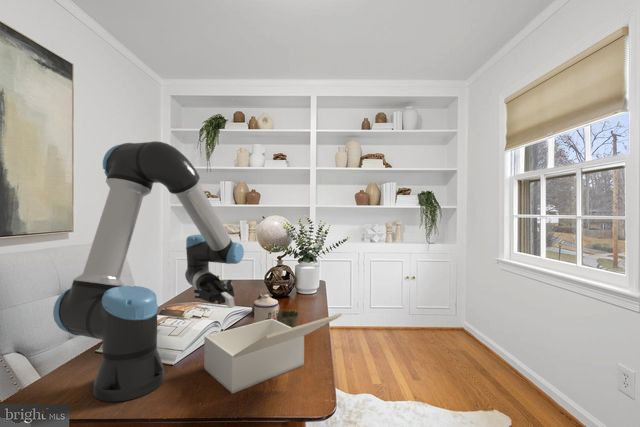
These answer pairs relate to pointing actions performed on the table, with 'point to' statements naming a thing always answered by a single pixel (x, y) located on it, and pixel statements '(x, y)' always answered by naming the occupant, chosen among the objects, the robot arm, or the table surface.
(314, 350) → the table surface
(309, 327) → the lid flap
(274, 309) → the teacup with lid
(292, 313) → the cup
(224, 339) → the mailer box
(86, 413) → the table surface
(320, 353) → the table surface
